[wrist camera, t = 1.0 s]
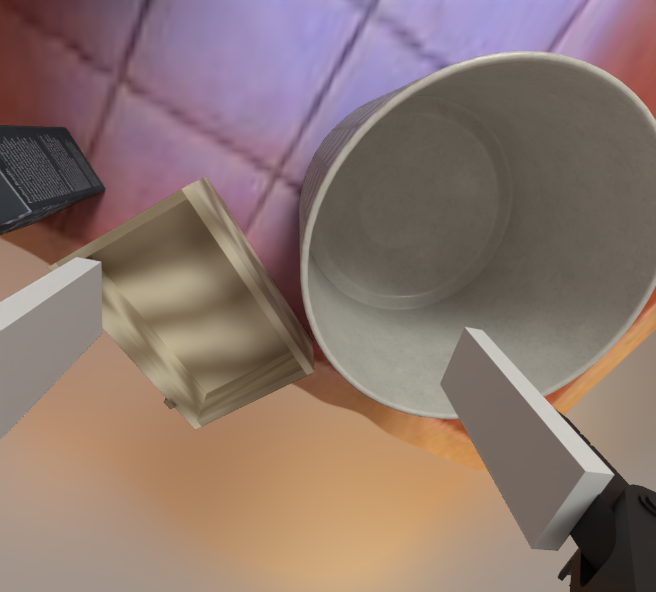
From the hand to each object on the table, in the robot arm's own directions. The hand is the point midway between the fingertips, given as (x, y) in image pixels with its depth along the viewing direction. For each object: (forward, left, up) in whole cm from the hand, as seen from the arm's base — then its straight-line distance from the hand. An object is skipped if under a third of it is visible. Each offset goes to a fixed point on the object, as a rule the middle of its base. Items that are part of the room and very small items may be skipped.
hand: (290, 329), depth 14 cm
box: (-13, -17, -23) cm, 32 cm away
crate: (+3, -12, -23) cm, 26 cm away
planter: (+4, +9, -23) cm, 25 cm away
